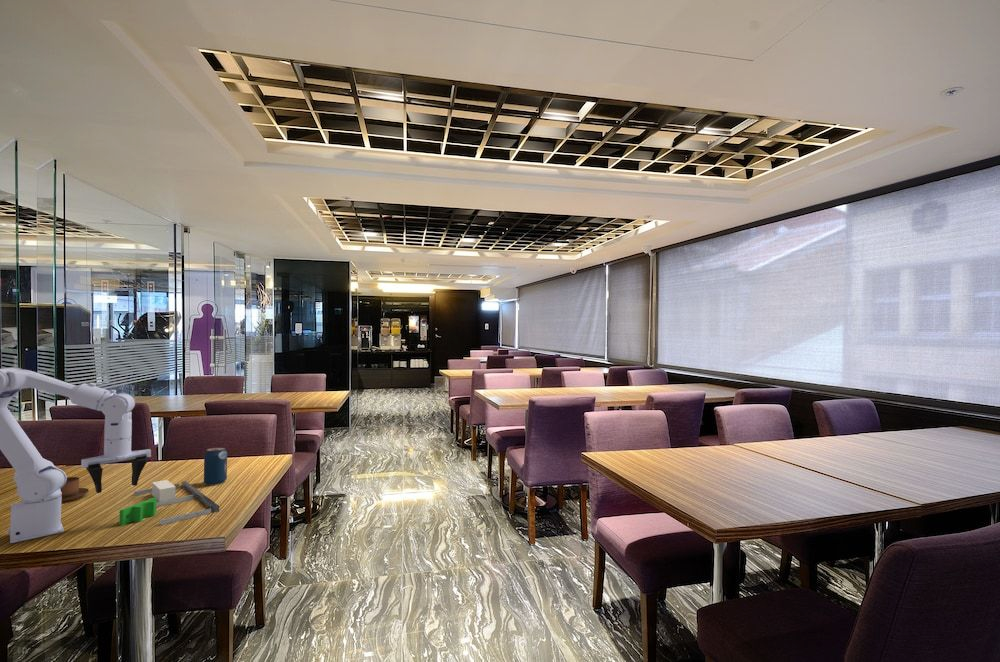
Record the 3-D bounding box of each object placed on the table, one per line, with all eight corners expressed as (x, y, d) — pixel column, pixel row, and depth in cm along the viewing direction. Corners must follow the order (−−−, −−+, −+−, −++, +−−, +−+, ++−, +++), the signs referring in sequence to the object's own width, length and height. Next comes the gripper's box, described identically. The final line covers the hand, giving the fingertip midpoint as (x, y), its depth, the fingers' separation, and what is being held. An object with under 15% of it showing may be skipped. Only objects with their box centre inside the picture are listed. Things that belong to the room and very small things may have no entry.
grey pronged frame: (160, 525, 123) (160, 519, 123) (134, 495, 148) (134, 490, 148) (219, 511, 133) (219, 506, 133) (185, 485, 158) (185, 481, 158)
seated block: (159, 502, 140) (160, 489, 141) (151, 494, 148) (152, 482, 148) (175, 499, 143) (175, 486, 144) (166, 491, 151) (167, 479, 151)
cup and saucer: (36, 500, 144) (36, 480, 144) (87, 491, 152) (87, 472, 152) (35, 509, 135) (36, 488, 135) (89, 499, 144) (90, 480, 144)
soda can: (230, 482, 162) (231, 448, 162) (209, 487, 156) (210, 451, 156) (220, 479, 166) (221, 445, 166) (199, 483, 160) (200, 449, 160)
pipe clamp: (130, 526, 122) (131, 510, 122) (119, 526, 123) (119, 510, 123) (163, 512, 133) (164, 497, 133) (153, 511, 133) (153, 497, 133)
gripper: (86, 444, 116) (85, 498, 116) (155, 435, 128) (154, 484, 127) (79, 441, 120) (78, 493, 120) (146, 432, 132) (145, 480, 132)
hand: (117, 488), depth 124 cm, fingers open, 7 cm apart
